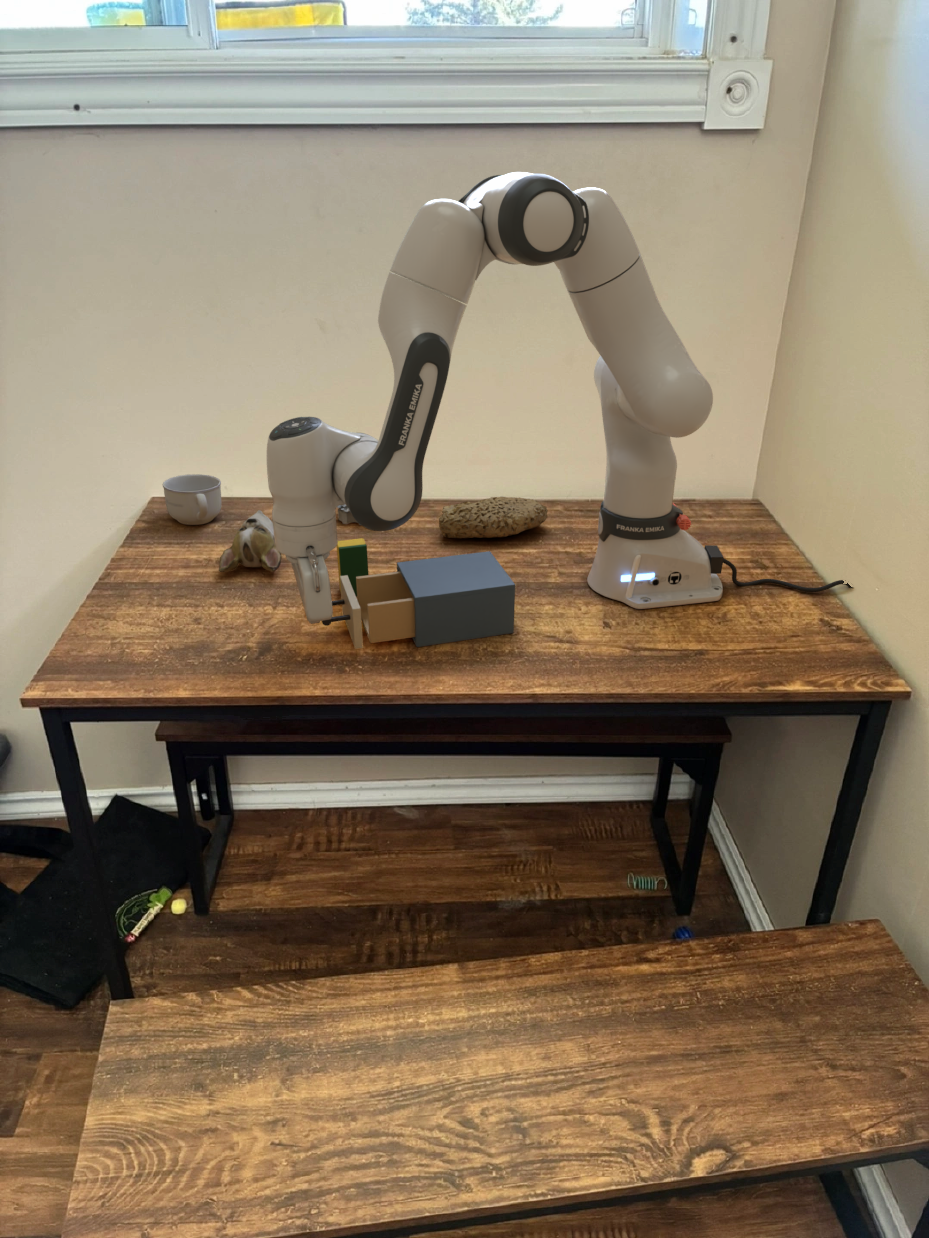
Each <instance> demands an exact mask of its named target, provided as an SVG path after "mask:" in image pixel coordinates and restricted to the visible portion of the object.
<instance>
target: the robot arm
mask: <svg viewBox="0 0 929 1238" xmlns="http://www.w3.org/2000/svg"><path fill="white" fill-rule="evenodd" d="M493 261H499V262H501V263H503V264H504V263H505V264H508V265H526V266H529V267H539V266H545V265H549V264H552V263H554V265H555V267H556V268H557V269H558V270H559V274H560V276H561V278H562V281H563V284H564V287H565V288H566V292H567V293H568V296H569V298H570V300H571V302H572V305H573V307H574V309H575V312H576V314H577V316H578V318H579V319H578V320H579V321H580V323H581V325H582V328H583V331H584V333H585V335H586V337H587V339H588V341H589V342H590V343H591V344H592V346H593V347H594V348H595V350H596V351H597V352H598V354H599V357H598V358H597V361H596V363H595V366H594V369H593V380H594V385H595V387H596V390H597V393H598V396H599V400H600V407H601V416H602V426H603V433H604V442H605V454H606V456H605V457H606V465H605V477H604V478H605V479H604V492H603V500H602V501H601V503H600V507H599V512H598V521H597V535H598V541H597V546H596V549H595V550H596V551H595V555H594V559H593V562H592V564H591V568H590V570H589V573H588V575H587V578H586V581H587V582H586V583H587V585H588V586H589V587H590V588H591V590H593V591H594V592H595V593H597V594H599V595H601V596H603V597H606V598H609V599H612V600H615V601H618V602H622V603H624V604H625V605H628V606H629V607H631V608H633V609H635V610H647V609H655V608H664V607H672V606H682V605H691V604H692V605H693V604H701V603H702V604H703V603H710V602H711V603H712V602H718V601H720V600H721V599H722V597H723V593H724V592H723V589H724V588H723V587H724V586H723V583H722V581H721V578H720V577H719V575H721V574H722V571H723V570H722V569H723V566H724V565H723V564H725V565H726V566H727V567H728V568H730V569H731V581H732V583H733V585H735V586H737V587H748V586H756V585H760V584H761V585H762V584H775V585H780V586H783V587H787V588H790V589H792V590H796V591H800V592H804V593H818V592H819V593H820V592H824V591H827V590H829V589H831V588H834V587H836V586H839V585H844V586H846V587H848V588H849V589H853V588H852V587H851V586H850V585H849V584H848V583H847V584H843V583H844V581H843V580H844V579H840V580H835V581H832V582H830V583H827V584H826V585H823V586H819V587H805V586H801V585H797V584H794V583H791V582H787V581H784V580H781V579H775V578H761V579H760V578H759V579H756V580H752V581H749V582H741V581H739V580H738V579H737V576H738V573H737V572H738V570H737V567H736V566H735V564H733V562H731V561H730V560H728V559H726V558H725V557H724V555H723V553H722V552H721V550H720V548H719V546H718V545H716V544H715V545H712V544H708V545H707V544H705V545H704V546H703V544H702V543H701V542H700V541H699V540H698V539H697V538H695V537H694V536H693V535H691V534H690V533H689V532H687V530H689V528H691V526H692V521H691V519H690V518H689V516H688V515H686V514H684V512H683V510H682V509H680V508H679V507H678V506H677V505H676V504H675V503H674V493H675V486H676V479H677V478H676V477H677V469H678V461H677V455H676V453H675V451H674V447H673V445H672V440H671V438H676V439H677V438H684V437H687V436H690V435H692V434H694V433H695V432H697V431H698V430H699V429H700V428H701V427H702V426H703V425H704V424H705V423H706V421H707V420H708V418H709V416H710V415H711V412H712V408H713V404H714V394H713V389H712V386H711V384H710V383H709V381H708V380H707V379H706V378H705V376H704V375H703V374H702V372H701V371H700V370H699V368H698V367H697V365H696V364H695V362H694V361H693V359H692V358H691V356H690V354H689V352H688V350H687V348H686V347H685V345H684V342H683V340H682V339H681V337H680V336H679V334H678V332H677V330H676V329H675V327H674V326H673V324H672V323H671V321H670V319H669V318H668V316H667V314H666V313H665V311H664V308H663V307H662V305H661V303H660V301H659V299H658V296H657V294H656V291H655V288H654V286H653V283H652V281H651V278H650V276H649V273H648V270H647V268H646V266H645V263H644V260H643V257H642V254H641V252H640V249H639V247H638V244H637V241H636V239H635V237H634V235H633V232H632V230H631V229H630V226H629V224H628V223H627V221H626V218H625V217H624V216H623V214H622V212H621V210H620V208H619V207H618V205H617V204H616V202H615V201H614V199H613V197H612V196H611V195H610V194H609V192H607V191H606V190H605V189H602V188H599V187H582V188H578V189H576V190H572V189H571V188H569V186H567V185H566V184H565V183H564V182H562V181H561V180H560V179H557V178H555V177H554V176H552V175H549V174H545V173H531V172H526V171H514V172H508V173H506V174H496V175H495V174H494V175H492V176H488V177H486V178H483V179H482V180H481V181H479V182H478V183H476V184H475V185H474V186H473V187H471V189H470V190H469V191H468V192H466V194H464V195H463V196H462V197H461V198H460V199H459V200H454V199H451V198H434V199H431V200H429V201H426V202H425V203H424V204H423V205H421V207H420V208H419V210H418V211H417V212H416V214H415V216H414V218H413V219H412V221H411V223H410V224H409V226H408V229H407V230H406V232H405V234H404V236H403V238H402V241H401V242H400V245H399V247H398V249H397V251H396V253H395V256H394V258H393V261H392V264H391V266H390V269H389V271H388V274H387V277H386V280H385V283H384V286H383V290H382V292H381V293H382V294H381V298H380V303H379V308H378V309H379V310H378V316H377V324H378V329H379V331H380V335H381V337H382V339H383V341H384V343H385V345H386V347H387V351H388V354H389V356H390V359H391V363H392V368H393V369H392V370H393V388H392V392H391V395H390V400H389V403H388V407H387V410H386V413H385V417H384V420H383V424H382V428H381V431H380V434H379V437H378V439H377V438H375V436H372V435H370V434H367V433H364V432H354V431H348V430H344V429H340V428H337V427H334V426H332V425H330V424H329V423H327V422H324V421H323V420H322V419H321V418H318V417H316V416H297V417H293V418H290V419H287V420H285V421H282V422H280V423H279V424H278V425H277V426H275V427H274V428H272V430H271V431H270V433H269V435H268V438H267V442H266V476H267V485H268V490H269V493H270V495H271V497H272V501H273V502H272V511H271V521H272V522H273V529H274V538H275V547H276V549H277V550H278V551H279V552H280V553H281V555H284V557H285V559H286V561H288V562H289V563H290V564H291V567H292V570H293V574H294V578H295V581H296V586H297V588H298V592H299V596H300V599H301V603H302V606H303V610H304V615H305V617H306V619H307V621H308V624H311V625H313V624H320V623H321V622H322V621H324V620H329V619H331V618H332V617H333V616H334V609H333V607H334V606H332V601H333V599H332V591H331V590H332V589H331V588H332V587H331V581H330V575H329V570H328V567H327V564H326V561H325V560H326V559H327V560H328V558H329V557H330V554H331V552H332V551H333V550H335V548H337V544H338V541H339V539H338V525H337V513H336V509H338V508H337V506H339V505H344V504H346V505H347V507H348V509H349V510H350V512H351V514H352V515H353V517H354V519H355V520H356V521H357V522H358V523H357V524H358V525H359V524H360V525H359V526H361V527H363V528H364V529H367V530H370V531H374V532H387V531H391V530H394V529H397V528H400V527H401V526H403V525H404V524H406V523H407V522H409V520H411V518H412V517H413V516H414V515H415V514H416V512H417V510H418V509H419V507H420V504H421V501H422V497H423V486H424V485H423V469H424V462H425V458H426V457H425V456H426V453H427V451H428V450H427V449H428V446H429V443H430V440H431V436H432V434H433V433H432V432H433V429H434V426H435V423H436V420H437V416H438V414H439V413H438V412H439V410H440V405H441V403H442V398H443V395H444V391H445V388H446V384H447V380H448V376H449V371H450V366H451V359H452V354H453V350H454V345H455V342H456V339H457V334H458V333H459V329H460V325H461V324H462V320H463V317H464V314H465V312H466V309H467V305H468V303H469V301H470V298H471V295H472V292H473V289H474V286H475V283H476V281H477V280H478V278H479V277H480V275H481V273H482V272H483V271H484V270H485V268H486V267H487V266H488V265H489V264H490V263H492V262H493ZM718 574H719V575H718Z"/></svg>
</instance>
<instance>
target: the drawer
mask: <svg viewBox="0 0 929 1238" xmlns="http://www.w3.org/2000/svg"><path fill="white" fill-rule="evenodd" d="M340 585H341V592H340V598H341V599H337V600H332V607H335V606H341V609H342V610H341V612H342V615H335V616H332V618H331V619H329V620H324V621H321V623H322V625H323V626H325V627H328V626H330V625H331V624H332V623H336V622H343V621H344V622H345V625H346V627H347V628H346V629H347V630H348V633H349V636H350V639H351V642H352V644H353V647H354V649H355V650H359V649H364V641H363V628H364V631H365V633H366V636H367V638H368V641H369V643H370V644H375V643H382V642H389V641H396V640H397V641H398V640H403V639H411V638H412V637H415V608H414V598H413V596H412V594H411V592H410V590H409V589H408V587H407V585H406V583H405V581H404V579H403V577H402V575H401V573H400V571H398V572H397V571H392V572H383V573H375V574H368V575H366V576H358V577H356V585H357V597H356V596H355V593H354V591H353V588H352V585H351V583H350V580H349V578H348V575H345V576H340Z"/></svg>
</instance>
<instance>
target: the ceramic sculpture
mask: <svg viewBox="0 0 929 1238" xmlns="http://www.w3.org/2000/svg"><path fill="white" fill-rule="evenodd" d="M281 563H282V553H280V552H279V551H278V550H277V549H276V547H275V538H274V529H273V521H272V519H271V518H269V516H267V515H265V514H264V512H263V511H262V510H260V509H259V510H257V511H256V512H255V513H254V514H252V515H251V516H249V517H248V518H247V519H246V520H244V522H242V524H241V526H240V528H239V529H238V530H237V532H236V533H235V534H234V537H233V541H232V543H231V546H229V548H226V549H224V550H223V551H222V554H221V555H220V558H219V568H218V572H219V573H228V572H232V571H235V570H236V569H238V567H239V565H242V566H243V567H246V568H263V569H264V570H266V571H269V572H276V571H277V570H278V569H279V568H280V566H281Z"/></svg>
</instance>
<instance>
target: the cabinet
mask: <svg viewBox="0 0 929 1238" xmlns="http://www.w3.org/2000/svg"><path fill="white" fill-rule="evenodd" d="M398 571H400V573H401V575H402V577H403V579H404V581H405V583H406V585H407V587H408V589H409V590H410V592H411V594H412V596H413V598H414V608H415V637H411V638H412V641H413V643H414V645H415V647H416V648H420V647H427V646H434V645H441V644H447V643H454V642H461V641H468V640H475V639H476V640H477V639H483V638H489V637H496V636H503V635H508V634H509V635H510V634H514V633H515V609H516V608H515V605H516V604H515V603H516V584H515V582H514V581H513V579H512V578H511V576H510V575H509V574H508V573H507V572H506V570H505V569H504V567H503V566H502V565H501V563H500V562H499V561H498V560H497V558H496V557H495V556H494V554H493V553H492V551H491V550H489V551H488V550H487V551H481V552H479V551H478V552H472V553H464V554H455V555H448V556H439V557H431V558H424V559H423V558H422V559H415V560H414V559H413V560H407V561H398V562H396V572H398Z"/></svg>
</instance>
